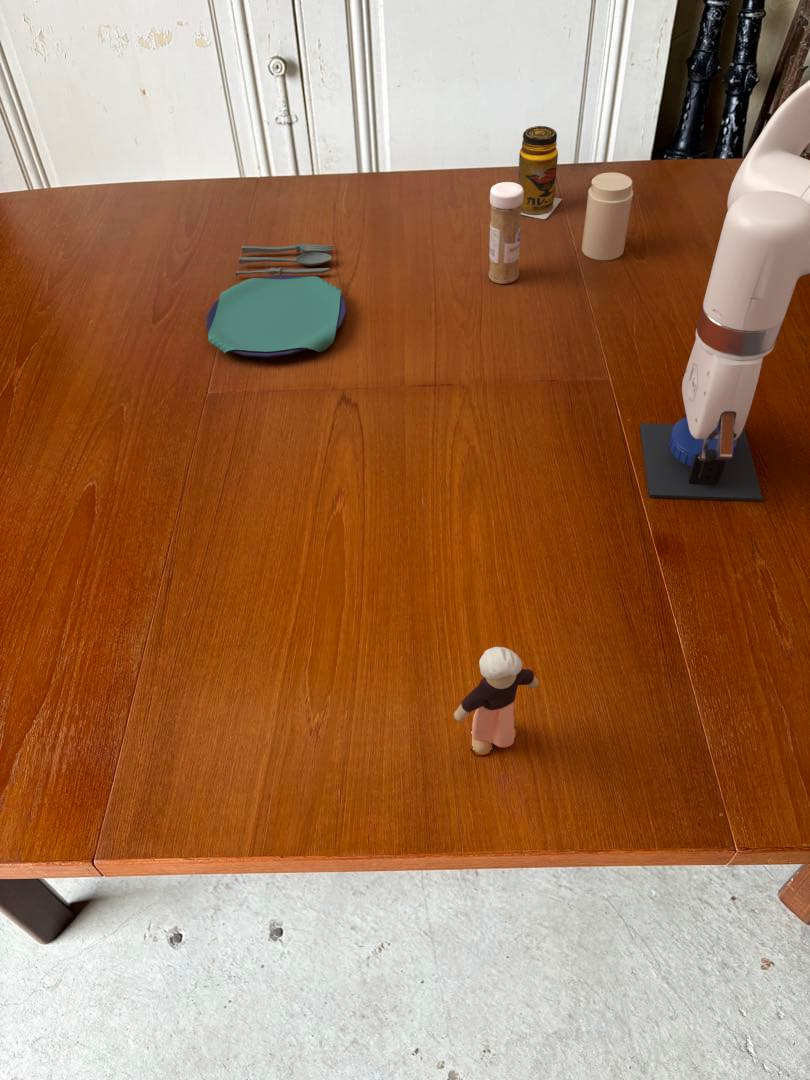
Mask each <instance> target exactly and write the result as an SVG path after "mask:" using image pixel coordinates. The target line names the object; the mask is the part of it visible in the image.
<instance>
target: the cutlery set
mask: <svg viewBox="0 0 810 1080" xmlns="http://www.w3.org/2000/svg"><path fill="white" fill-rule="evenodd" d="M241 251H242V254H248V253H282V252H289V251H290V252H291V251H295V252H296V253H299V254H300V255H298V256H295V257H294V258H285V257H267V256H266V257H265V256H260V257H259V256H257V257H256V256H254V257H253V256H251V257H250V256H239V257H238V260H237V261H238V263H239V265H241V264H250V263H267V262H270V263H271V262H272V263H298V264H300V265H302V266H307V267H313V266H319V265H323V264H325V263H327V262H328V261H331V260H332V257H333V255H331V254H328V253H329V252H333V251H334V244H330V245H329V244H328V245H326V244H325V245H323V244H310V243H309V244H308V243H305V242H301V243H298V242H296V243H295V245H285V246H260V245H242V246H241ZM330 271H331V268H330V267H322V268H321V267H319V268H291V269H289V268H288V269H286V268H285V269H283V268H282V266H279V268H275V267H270V268H267V269H259V270H244V271H243V270H235V273H234V274H235V277H237V276H238V275H249V274H268V275H272V276H266V277H251V278H247V279H245V280H243V281H241V282H239V283H237V284H235V285H233V286H231V287H228V288H227V289H226V290H223V291H221V292H220V294H219V298H218V299H217V300H216V301H215V302H214V303H213V304H212V306H211V308H210V309H209V311H208V312H207V314H206V323H205V328H206V329H205V330H206V331H207V333H208V336H207V339H208V342H209V343H210V345H211V346H214V347H215V348H216V349H218V350H219V351H220V352H222V353H223V354H226V353H227V352H231V353H234V354H236V355H240V356H243V357H252V358H267V359H268V358H277V357H283V356H289V355H290V356H291V355H294V354H297V353H300V352H303V351H306V350H313V351H316V352H318V353H323V352H324V351H326V350H327V349H328V348H330V347H331V346H332V344H333V343H334V341H335V337H336V332H337V330H339V329H340V328H341V326H342V325H343V322H344V320H345V317H346V314H347V307H346V300H345V298H344V297H343V295H342V289H341V288H339V287H338V286H335V285H334V284H332V283H329V281H326V280H325V279H323V278H321V277H319V276H315V275H313V276H312V275H311V274H324V273H327V272H330ZM276 274H277V275H276ZM308 274H309V275H311V276H305V275H308ZM322 351H323V352H322Z"/></svg>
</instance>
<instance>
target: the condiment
mask: <svg viewBox="0 0 810 1080" xmlns="http://www.w3.org/2000/svg"><path fill="white" fill-rule="evenodd" d="M557 141H558V132H557V131H556V130H555V129H554V128H552V127H549V126H545V125H536V126H531V127H528V128H527V129H525V131H523V134H522V143H521V148H520V150H519V154H518V155H519V156H518V174H517V175H518V176H517V184H519V185H521V186H522V188H523V191H524V192H523V203H522V206H521V216H526V217H530V218H535V219H539V220H546V219H547V218H548V217H550V215H552V213H553V212H554V211H555V209H556V208H557V207H558V205H559V204H560V203H561V201H563V198H559V197H555V193H556V181H557V180H556V179H557V168H558V159H559V158H558V157H559V151H558V148H557V145H558V143H557Z"/></svg>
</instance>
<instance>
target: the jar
mask: <svg viewBox="0 0 810 1080" xmlns="http://www.w3.org/2000/svg"><path fill="white" fill-rule="evenodd" d="M633 198H634V190H633V180H632V178H631V177H629V176H628V175H626V174H625V173H624V174H623V173H620V172H603V173H600V174H597V175H595V176H594V177H593V178H592V180H591V186H590V187H589V189H588V190H587V198H586V199H587V200H586V206H585V207H586V208H585V214H584V215H585V216H584V222H583V223H584V224H583V234H582V242H581V252H582V253H583V255H584V256H586V257H587V258H590V259H592V260H597V261H612V260H615V259H618V258H620V257H621V256H623V254H624V252H625V248H626V241H627V234H628V228H629V222H630V218H631V217H630V216H631V211H632V204H633Z"/></svg>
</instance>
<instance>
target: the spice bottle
mask: <svg viewBox="0 0 810 1080" xmlns="http://www.w3.org/2000/svg"><path fill="white" fill-rule="evenodd" d="M489 192H490V193H489V203H490V222H489V250H488V251H489V252H488V253H489V271H488V278H489V279H490V281H492V282H493V283H495V284H501V285H505V284H507V285H508V284H510V283H513V282H515V281H516V280H517V279H518V278H519V275H520V271H519V262H520V261H519V260H520V259H519V258H520V249H521V229H522V228H521V223H522V222H521V221H522V215H521V206H522V203H523V192H524V191H523V188H522V186H521V185H519V184H518V182H512V181H503V182H499V183H496V184H494V185H492V186H491V188H490V191H489Z"/></svg>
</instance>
